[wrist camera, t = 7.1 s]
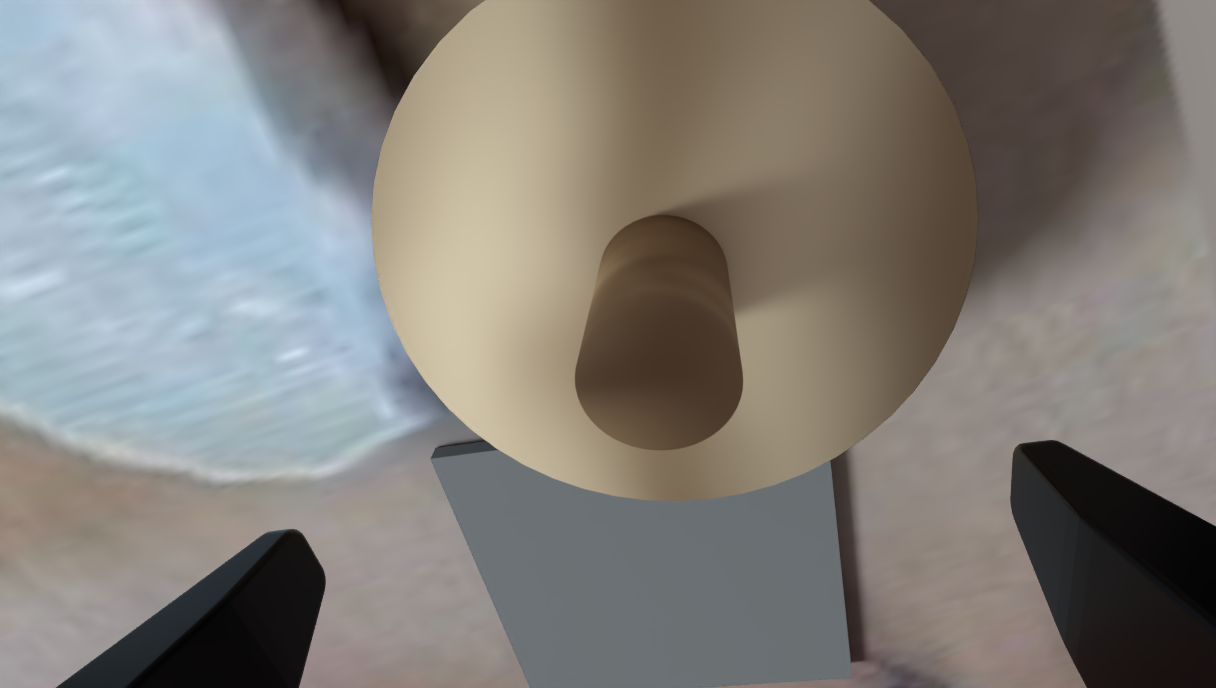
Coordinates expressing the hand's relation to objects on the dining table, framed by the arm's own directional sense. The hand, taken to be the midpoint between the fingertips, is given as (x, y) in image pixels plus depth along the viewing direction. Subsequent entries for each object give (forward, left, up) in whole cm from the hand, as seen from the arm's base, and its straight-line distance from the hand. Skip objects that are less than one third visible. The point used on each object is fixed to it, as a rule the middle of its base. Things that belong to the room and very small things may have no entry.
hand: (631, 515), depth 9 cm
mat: (+3, +14, -12) cm, 19 cm away
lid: (0, 0, -7) cm, 7 cm away
